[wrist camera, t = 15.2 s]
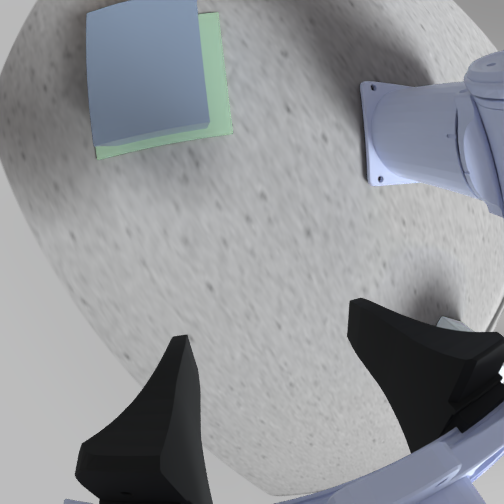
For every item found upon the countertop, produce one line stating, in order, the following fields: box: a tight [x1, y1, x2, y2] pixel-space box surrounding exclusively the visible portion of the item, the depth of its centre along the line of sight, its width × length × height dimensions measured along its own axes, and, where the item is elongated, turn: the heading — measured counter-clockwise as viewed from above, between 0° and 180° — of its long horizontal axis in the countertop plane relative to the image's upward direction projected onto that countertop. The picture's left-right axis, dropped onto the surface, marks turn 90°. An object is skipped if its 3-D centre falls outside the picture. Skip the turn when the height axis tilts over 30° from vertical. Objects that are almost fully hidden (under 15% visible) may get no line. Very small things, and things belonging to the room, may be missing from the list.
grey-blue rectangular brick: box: [86, 0, 210, 146], centre depth 13 cm, size 6×8×5 cm
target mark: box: [95, 12, 233, 160], centre depth 16 cm, size 9×9×1 cm
